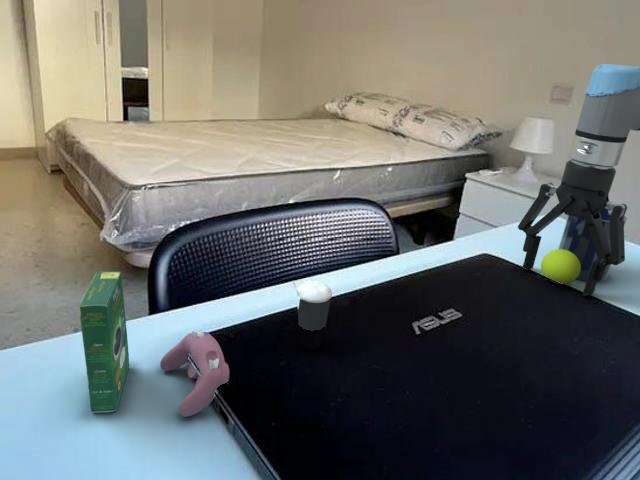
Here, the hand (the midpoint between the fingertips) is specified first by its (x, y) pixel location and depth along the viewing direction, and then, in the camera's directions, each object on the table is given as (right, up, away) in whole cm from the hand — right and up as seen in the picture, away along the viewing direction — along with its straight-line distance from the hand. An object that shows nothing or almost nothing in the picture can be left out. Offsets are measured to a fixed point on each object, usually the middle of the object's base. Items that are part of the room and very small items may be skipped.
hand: (556, 281), depth 91 cm
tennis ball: (0, +3, -1) cm, 3 cm away
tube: (+7, +2, +6) cm, 10 cm away
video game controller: (-58, -10, -33) cm, 67 cm away
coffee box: (-67, -9, -34) cm, 76 cm away
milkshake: (-45, -7, -24) cm, 51 cm away
